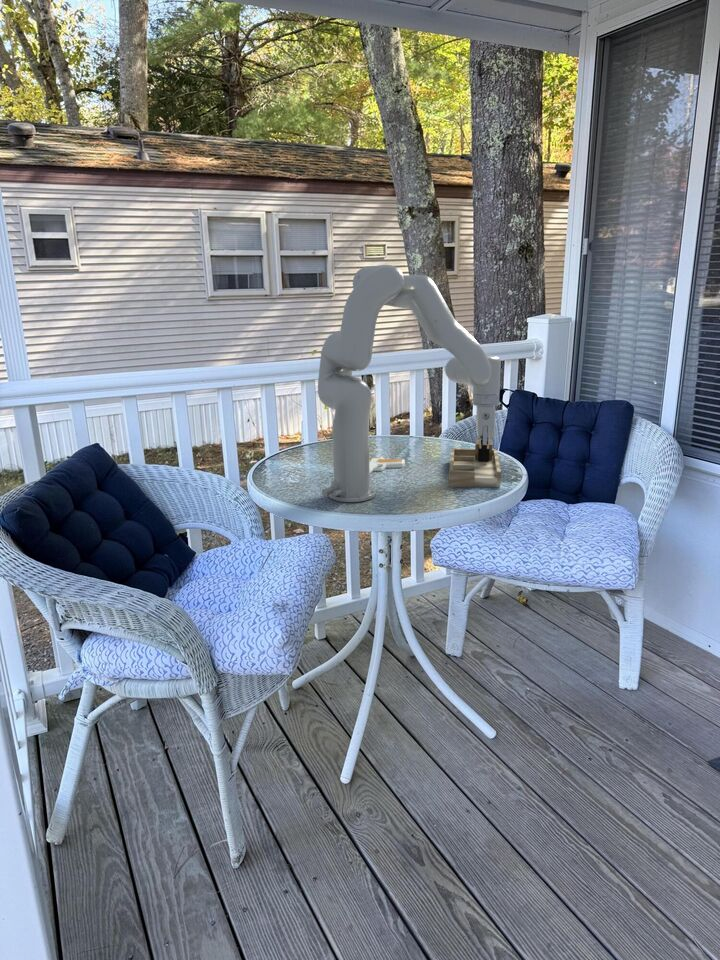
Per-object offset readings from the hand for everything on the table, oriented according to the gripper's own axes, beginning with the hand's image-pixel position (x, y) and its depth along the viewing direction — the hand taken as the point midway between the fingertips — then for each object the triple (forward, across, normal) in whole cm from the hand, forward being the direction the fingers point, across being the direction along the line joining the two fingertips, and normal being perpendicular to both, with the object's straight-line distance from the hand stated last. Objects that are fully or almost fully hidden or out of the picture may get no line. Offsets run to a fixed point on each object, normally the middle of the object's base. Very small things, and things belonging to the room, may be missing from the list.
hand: (483, 460), depth 188 cm
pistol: (+4, -1, +30) cm, 31 cm away
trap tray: (+3, -2, +3) cm, 5 cm away
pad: (+3, +7, 0) cm, 7 cm away
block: (+1, +6, 0) cm, 6 cm away
